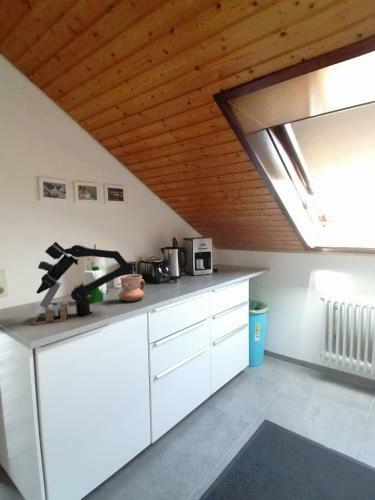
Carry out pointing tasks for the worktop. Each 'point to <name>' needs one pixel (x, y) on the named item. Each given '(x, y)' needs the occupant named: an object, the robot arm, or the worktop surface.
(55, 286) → the basalt block
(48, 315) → the frame
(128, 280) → the ceramic jug
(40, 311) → the trapdoor
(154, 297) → the worktop surface
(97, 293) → the milk carton
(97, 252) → the robot arm
